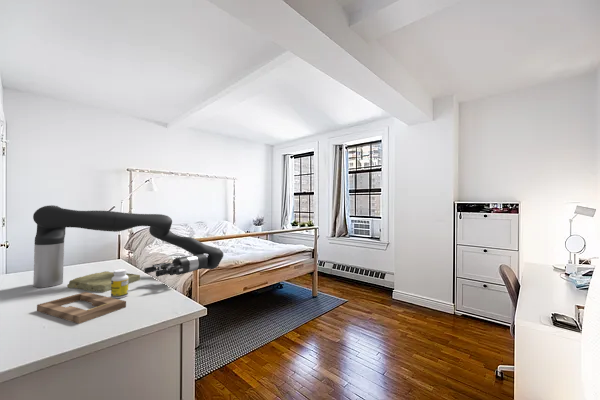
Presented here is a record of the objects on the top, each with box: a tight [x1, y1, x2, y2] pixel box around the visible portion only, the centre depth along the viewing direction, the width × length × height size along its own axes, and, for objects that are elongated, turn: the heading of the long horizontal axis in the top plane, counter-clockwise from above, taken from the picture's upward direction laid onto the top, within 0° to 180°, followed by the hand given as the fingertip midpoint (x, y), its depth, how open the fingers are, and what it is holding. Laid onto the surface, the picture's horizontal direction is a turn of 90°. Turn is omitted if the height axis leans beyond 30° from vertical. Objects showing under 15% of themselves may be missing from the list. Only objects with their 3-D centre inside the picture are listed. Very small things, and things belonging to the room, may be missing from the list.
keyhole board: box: [36, 291, 127, 325], centre depth 90 cm, size 22×14×2 cm, turn 68°
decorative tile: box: [66, 271, 141, 293], centre depth 117 cm, size 19×20×4 cm
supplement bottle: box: [110, 268, 129, 299], centre depth 102 cm, size 5×5×10 cm
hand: (150, 272), depth 111 cm, fingers open, 8 cm apart
